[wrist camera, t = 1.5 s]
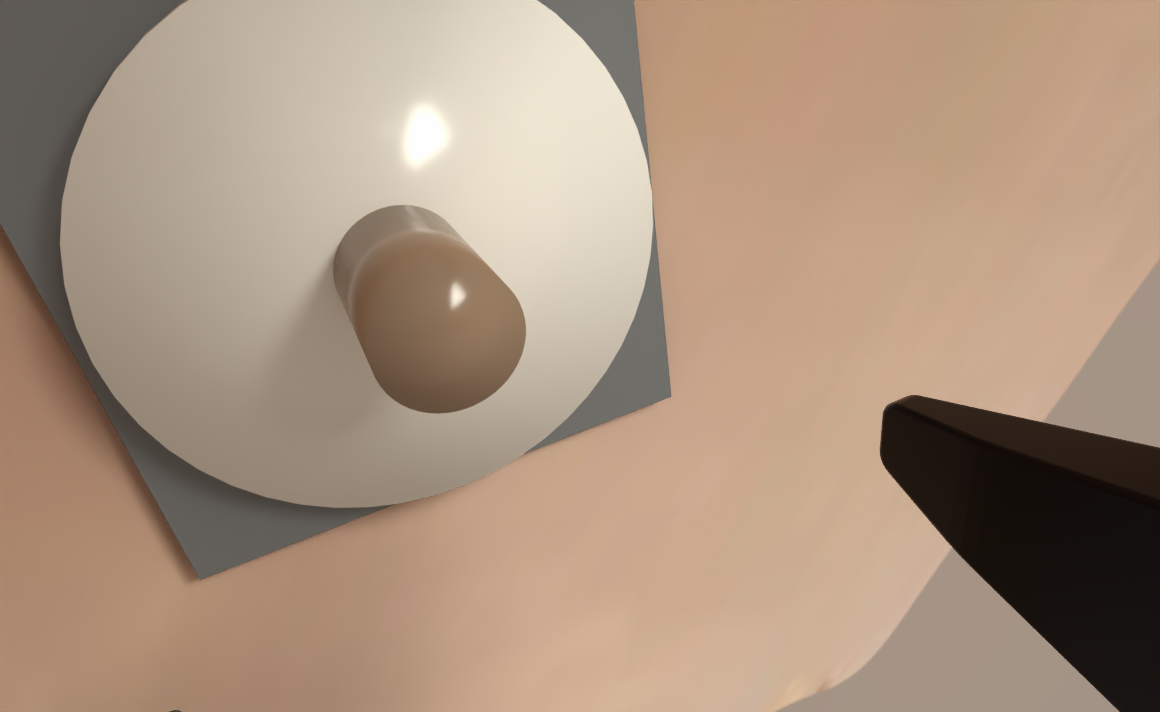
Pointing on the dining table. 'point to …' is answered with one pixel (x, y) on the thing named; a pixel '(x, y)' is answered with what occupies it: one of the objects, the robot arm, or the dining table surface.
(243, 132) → the lid
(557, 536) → the dining table surface
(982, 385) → the dining table surface
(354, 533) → the dining table surface
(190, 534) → the mat
